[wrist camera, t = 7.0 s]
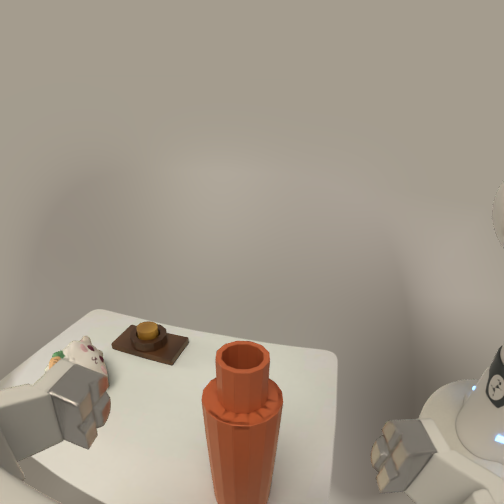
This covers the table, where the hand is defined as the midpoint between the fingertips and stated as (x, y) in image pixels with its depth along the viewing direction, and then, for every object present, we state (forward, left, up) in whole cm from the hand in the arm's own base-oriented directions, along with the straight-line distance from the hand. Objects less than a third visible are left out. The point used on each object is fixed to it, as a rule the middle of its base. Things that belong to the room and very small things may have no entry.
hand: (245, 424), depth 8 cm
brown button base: (+18, -41, -28) cm, 53 cm away
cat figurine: (+26, -26, -28) cm, 47 cm away
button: (+18, -41, -26) cm, 52 cm away
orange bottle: (0, -11, -28) cm, 30 cm away
